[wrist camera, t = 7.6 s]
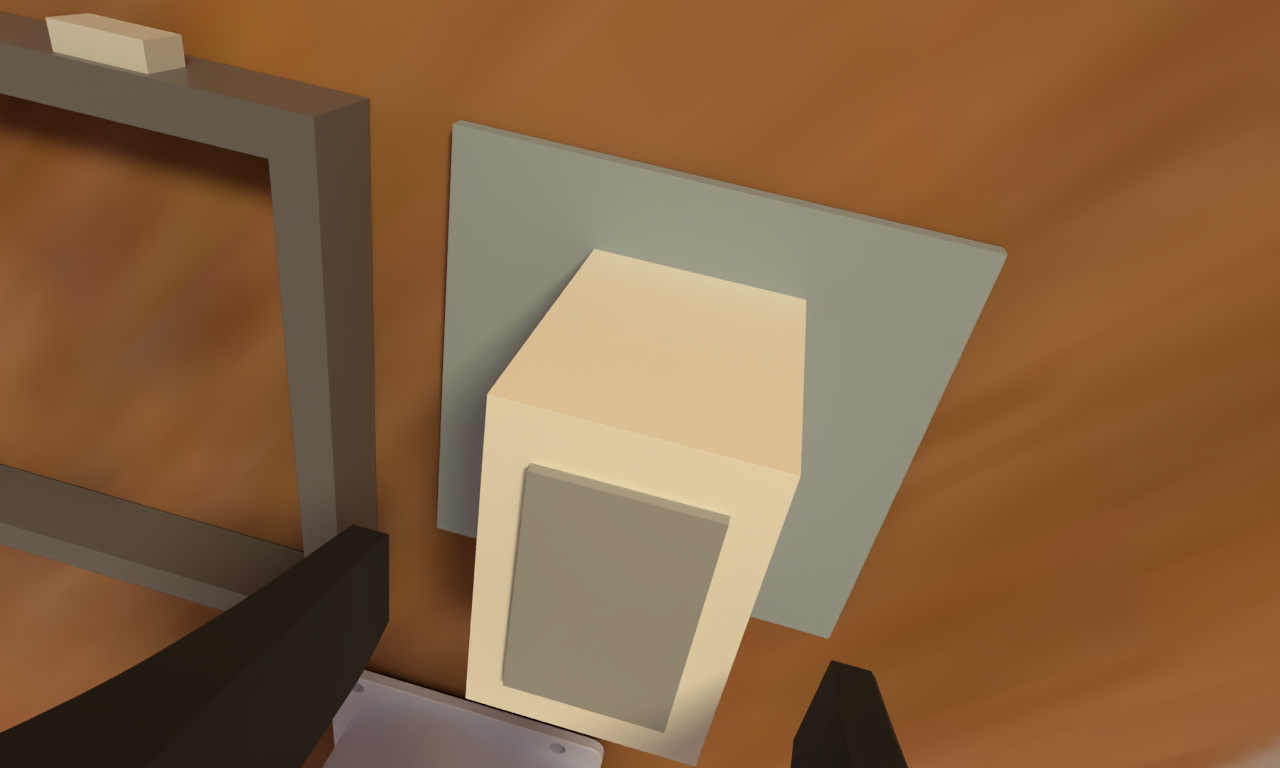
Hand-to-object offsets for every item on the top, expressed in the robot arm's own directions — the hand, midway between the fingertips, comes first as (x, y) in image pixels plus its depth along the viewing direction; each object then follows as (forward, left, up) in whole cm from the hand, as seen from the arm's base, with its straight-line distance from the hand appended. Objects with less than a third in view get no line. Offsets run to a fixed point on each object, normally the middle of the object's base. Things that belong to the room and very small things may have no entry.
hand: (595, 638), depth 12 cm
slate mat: (0, 0, -7) cm, 7 cm away
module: (0, 0, -7) cm, 7 cm away
